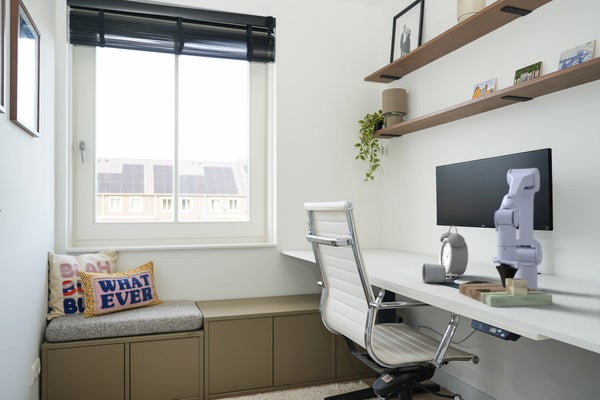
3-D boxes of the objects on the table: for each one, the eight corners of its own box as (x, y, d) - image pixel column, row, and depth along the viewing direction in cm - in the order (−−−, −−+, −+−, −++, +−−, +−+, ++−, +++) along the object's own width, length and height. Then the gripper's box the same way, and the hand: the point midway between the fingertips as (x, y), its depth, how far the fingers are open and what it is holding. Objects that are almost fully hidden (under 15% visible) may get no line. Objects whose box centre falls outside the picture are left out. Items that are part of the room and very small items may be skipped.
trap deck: (459, 292, 163) (459, 284, 164) (512, 291, 165) (512, 282, 165) (490, 306, 142) (490, 296, 142) (552, 304, 144) (552, 294, 144)
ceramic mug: (446, 284, 181) (446, 264, 181) (425, 284, 181) (425, 264, 181) (440, 280, 191) (439, 261, 191) (420, 280, 192) (419, 261, 192)
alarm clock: (437, 274, 207) (437, 224, 207) (456, 273, 207) (456, 224, 207) (449, 280, 190) (448, 226, 191) (470, 279, 190) (470, 226, 191)
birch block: (505, 292, 147) (505, 278, 147) (519, 292, 148) (519, 278, 148) (513, 295, 143) (513, 280, 143) (527, 295, 143) (527, 280, 143)
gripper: (483, 244, 158) (484, 284, 158) (507, 248, 143) (507, 292, 143) (503, 243, 158) (504, 283, 158) (528, 247, 144) (529, 291, 144)
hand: (507, 287), depth 151 cm, fingers closed
